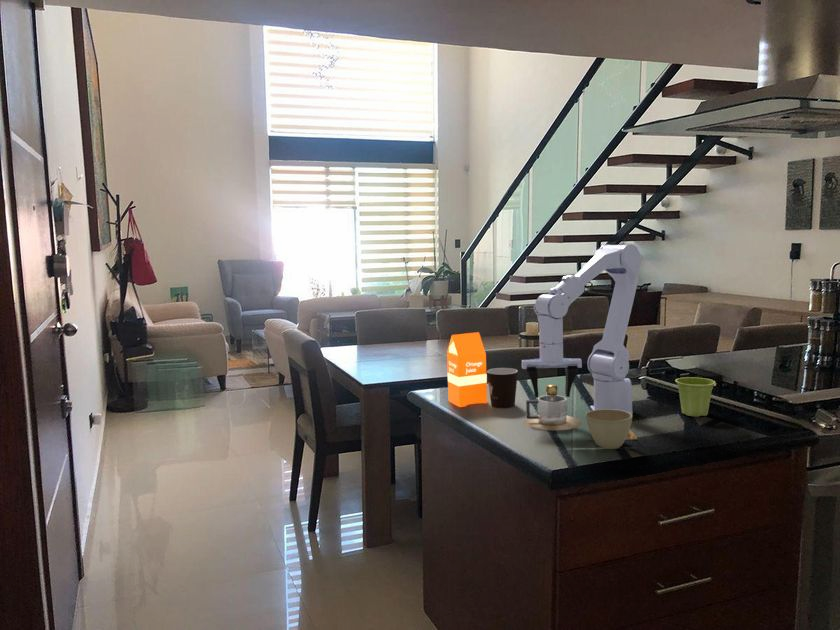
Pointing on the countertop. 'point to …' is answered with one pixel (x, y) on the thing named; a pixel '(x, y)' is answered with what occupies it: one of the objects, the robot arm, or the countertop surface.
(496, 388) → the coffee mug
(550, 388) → the plunger
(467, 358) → the orange juice
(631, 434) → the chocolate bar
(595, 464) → the countertop surface
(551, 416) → the press carafe
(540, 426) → the cork mat
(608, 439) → the beige bowl
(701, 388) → the plant pot
